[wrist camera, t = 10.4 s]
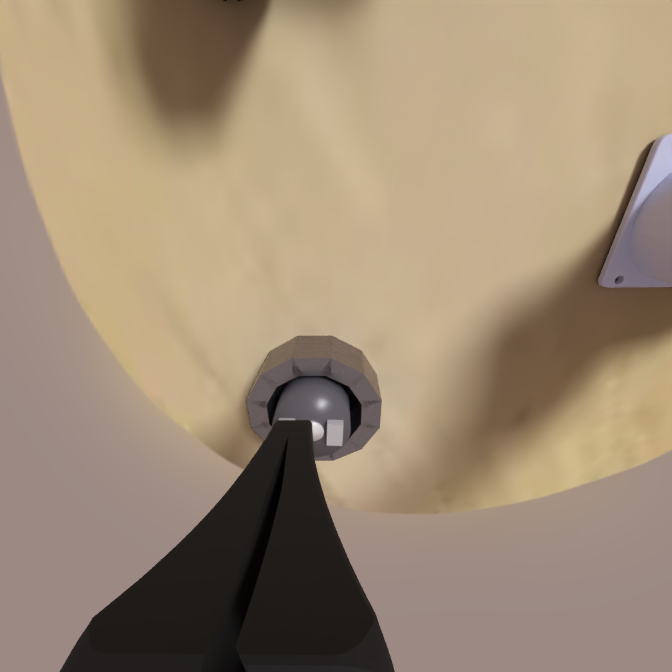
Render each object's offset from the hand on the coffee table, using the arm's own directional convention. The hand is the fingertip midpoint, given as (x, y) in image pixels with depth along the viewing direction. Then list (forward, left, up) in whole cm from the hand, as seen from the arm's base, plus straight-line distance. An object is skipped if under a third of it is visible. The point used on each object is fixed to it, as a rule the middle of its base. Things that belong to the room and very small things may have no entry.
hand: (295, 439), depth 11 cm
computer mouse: (0, +5, -9) cm, 11 cm away
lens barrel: (0, +5, -10) cm, 11 cm away
